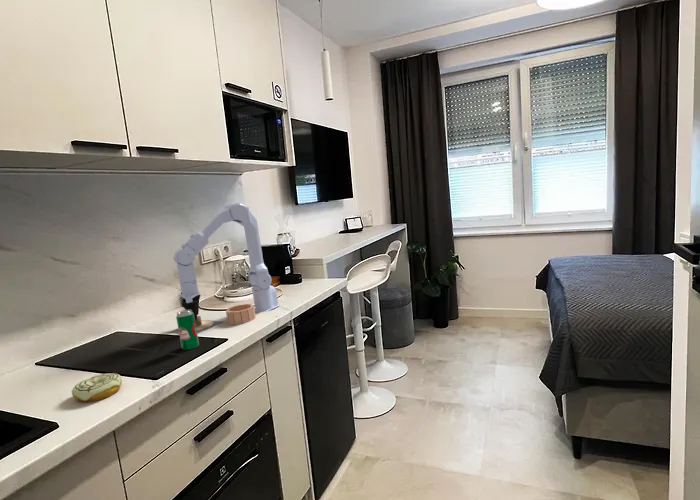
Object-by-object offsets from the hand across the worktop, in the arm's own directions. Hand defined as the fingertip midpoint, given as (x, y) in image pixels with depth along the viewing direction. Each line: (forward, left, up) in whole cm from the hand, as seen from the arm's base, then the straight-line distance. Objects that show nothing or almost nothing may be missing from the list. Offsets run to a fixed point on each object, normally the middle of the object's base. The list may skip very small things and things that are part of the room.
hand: (194, 317), depth 147 cm
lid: (0, 0, -4) cm, 4 cm away
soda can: (+16, +16, -4) cm, 23 cm away
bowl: (-10, +13, -4) cm, 17 cm away
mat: (0, 0, -4) cm, 4 cm away
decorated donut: (+45, +17, -5) cm, 48 cm away
